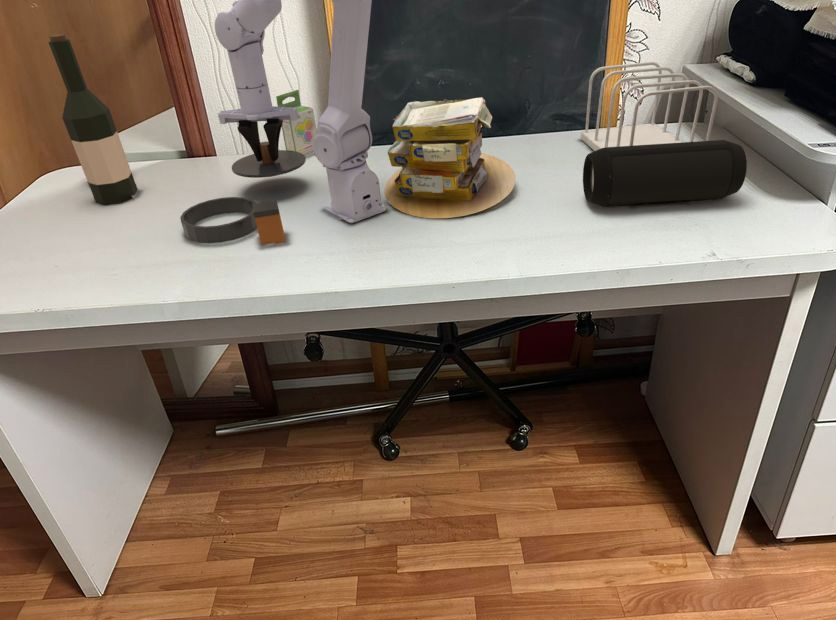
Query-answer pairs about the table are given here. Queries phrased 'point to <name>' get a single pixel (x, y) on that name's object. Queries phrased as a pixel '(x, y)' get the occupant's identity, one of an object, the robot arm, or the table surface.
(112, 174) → the wine bottle
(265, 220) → the spice jar
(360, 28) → the robot arm
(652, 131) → the file sorter
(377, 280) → the table surface
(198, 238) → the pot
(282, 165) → the lid
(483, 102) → the stacked yellow boxes
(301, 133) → the ink box
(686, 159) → the portable speaker
